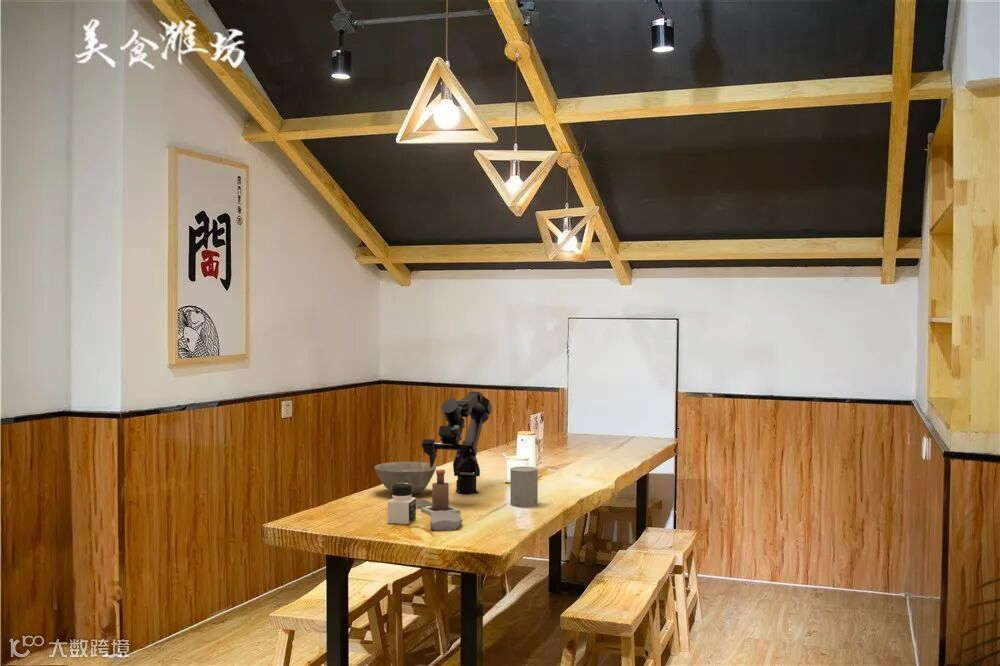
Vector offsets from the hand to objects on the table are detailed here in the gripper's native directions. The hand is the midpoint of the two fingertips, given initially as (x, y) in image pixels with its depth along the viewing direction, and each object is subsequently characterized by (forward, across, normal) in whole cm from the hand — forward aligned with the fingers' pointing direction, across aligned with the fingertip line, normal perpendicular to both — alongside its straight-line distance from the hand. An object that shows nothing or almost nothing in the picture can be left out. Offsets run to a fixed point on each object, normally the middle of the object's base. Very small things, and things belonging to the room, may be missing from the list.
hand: (443, 467), depth 305 cm
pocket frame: (+15, +2, +4) cm, 16 cm away
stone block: (+28, +10, -9) cm, 31 cm away
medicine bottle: (+26, -6, -8) cm, 28 cm away
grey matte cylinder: (+2, +25, +18) cm, 31 cm away
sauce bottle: (+15, +2, +4) cm, 16 cm away
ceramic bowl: (-3, -21, +23) cm, 31 cm away
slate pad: (+9, -10, +10) cm, 17 cm away
